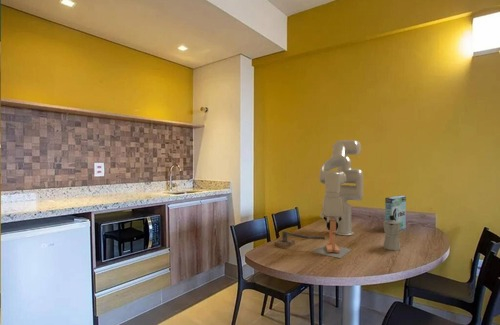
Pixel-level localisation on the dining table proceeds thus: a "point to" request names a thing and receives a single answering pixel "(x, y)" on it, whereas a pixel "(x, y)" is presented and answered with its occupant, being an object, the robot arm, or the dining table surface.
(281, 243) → the stand
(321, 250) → the mat
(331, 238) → the orange block
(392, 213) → the gum box
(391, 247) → the coffee maker
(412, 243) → the dining table surface
